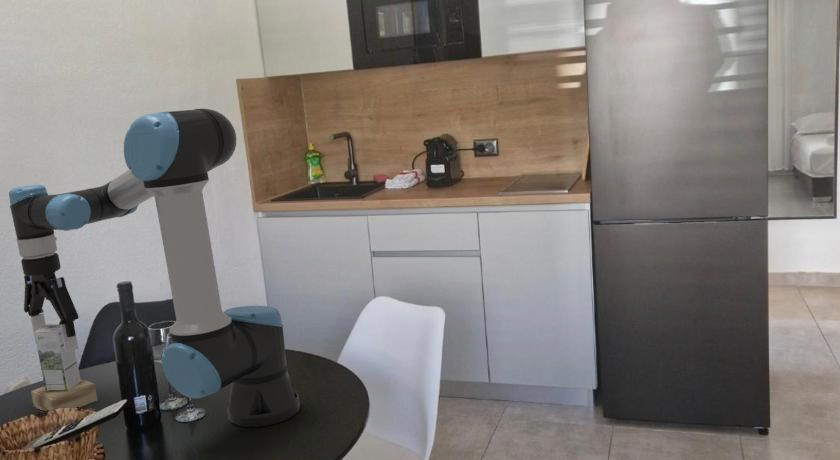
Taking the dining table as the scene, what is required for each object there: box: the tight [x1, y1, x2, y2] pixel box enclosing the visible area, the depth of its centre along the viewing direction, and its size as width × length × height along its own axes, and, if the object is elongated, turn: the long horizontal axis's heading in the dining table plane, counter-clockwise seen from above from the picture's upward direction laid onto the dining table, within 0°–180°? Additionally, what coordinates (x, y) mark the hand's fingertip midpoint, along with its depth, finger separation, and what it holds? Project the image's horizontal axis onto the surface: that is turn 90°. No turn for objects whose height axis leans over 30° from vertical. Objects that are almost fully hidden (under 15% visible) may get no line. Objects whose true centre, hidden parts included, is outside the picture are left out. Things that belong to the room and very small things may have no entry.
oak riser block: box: [30, 378, 98, 411], centre depth 177 cm, size 10×10×4 cm
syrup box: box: [33, 323, 81, 391], centre depth 175 cm, size 6×6×14 cm
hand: (56, 346), depth 174 cm, fingers open, 13 cm apart
